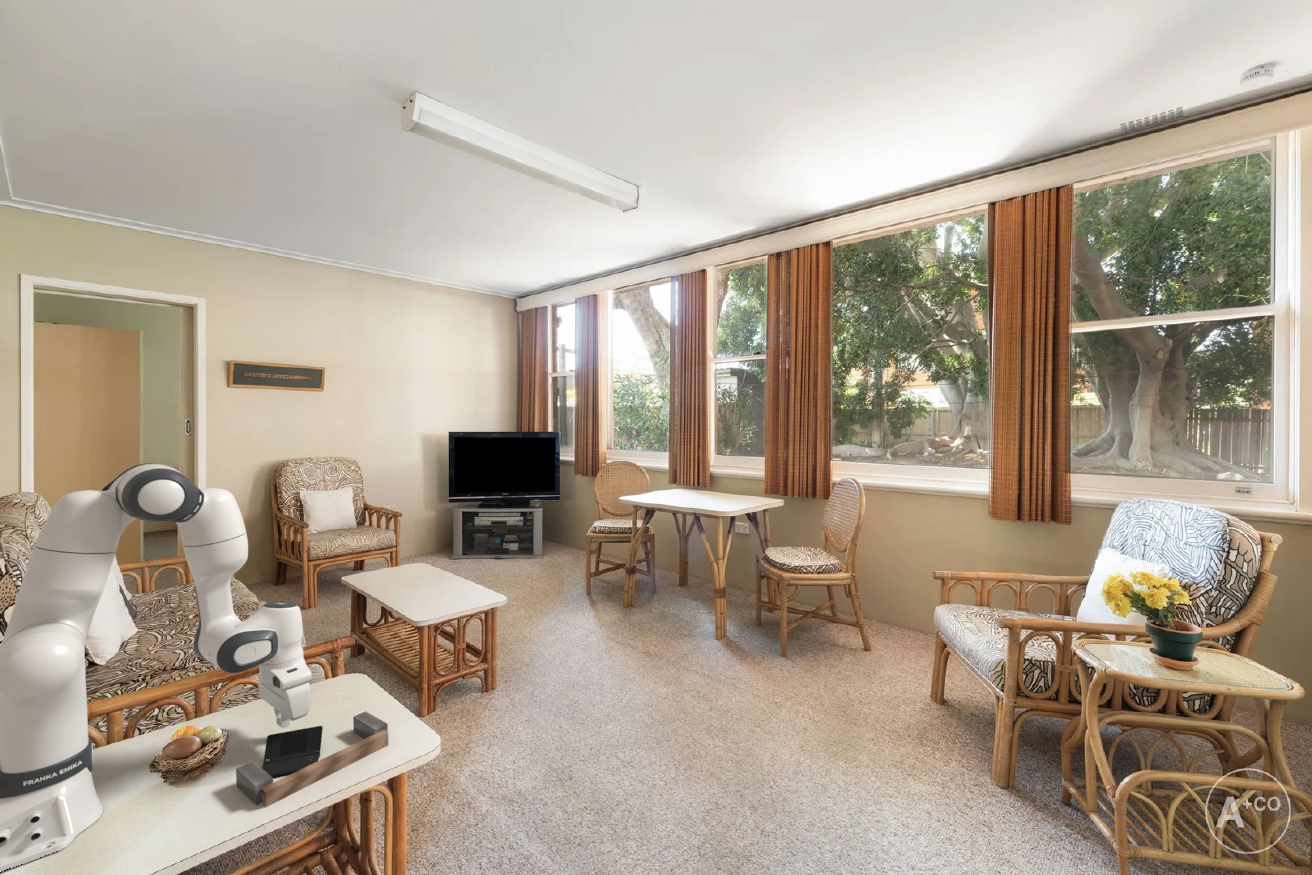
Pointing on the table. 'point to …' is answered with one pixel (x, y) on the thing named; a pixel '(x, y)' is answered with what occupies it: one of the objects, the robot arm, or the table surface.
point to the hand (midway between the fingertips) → (283, 725)
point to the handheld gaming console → (292, 751)
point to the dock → (265, 791)
